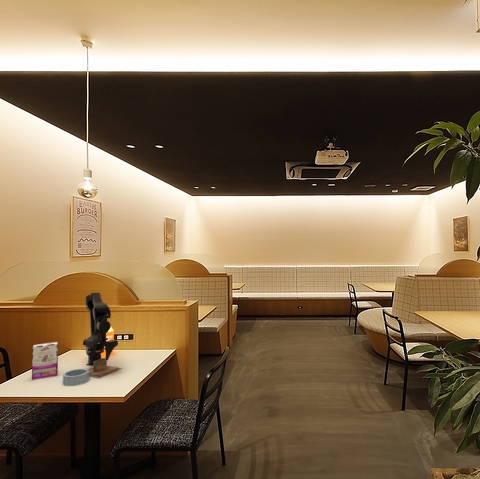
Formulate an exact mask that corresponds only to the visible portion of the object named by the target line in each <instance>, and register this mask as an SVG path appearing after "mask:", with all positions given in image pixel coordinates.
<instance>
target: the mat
mask: <svg viewBox="0 0 480 479" xmlns="http://www.w3.org/2000/svg"><path fill="white" fill-rule="evenodd" d="M122 369H123V367H119V369H117V370H115V371H113V372H111V373H108V374H106V375H104V376H101V377H96V376H90V375H89V378H94V379H102V378H104V377H107V376H108V375H111V374H113V373H116V372H118V371H121V370H122Z"/></svg>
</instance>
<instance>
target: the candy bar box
mask: <svg viewBox="0 0 480 479" xmlns="http://www.w3.org/2000/svg"><path fill="white" fill-rule="evenodd" d="M31 349H32V350H31V356H32V357H31V360H32V361H31V381H34V380H39V379H44V378H45V379H47V378H53V377H58V373H59V342H58V341H54V342H46V343H39V344H33V346H32V348H31Z"/></svg>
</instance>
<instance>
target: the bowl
mask: <svg viewBox="0 0 480 479" xmlns="http://www.w3.org/2000/svg"><path fill="white" fill-rule="evenodd" d="M88 369H89V368H88ZM88 369H87V368H76V369H71V370H68V371H65V372H64V373H63V374H62V385H63V386H66V387H72V386H73V387H75V386H79V385H83V384H86V383H87V382H88V381H90V377H89V370H88Z"/></svg>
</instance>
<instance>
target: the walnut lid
mask: <svg viewBox="0 0 480 479" xmlns="http://www.w3.org/2000/svg"><path fill="white" fill-rule="evenodd" d="M107 361H108V360H106V357H101V359H99V360H96V361H93V366H92V367H91V368H88V370H89V375H90V376H96V377H101V376H104V375H106V374H108V373H111V372H113V371H115V370H117V369H119V368H120V367H118V366H111V365H107V363H108V362H107Z"/></svg>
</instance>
